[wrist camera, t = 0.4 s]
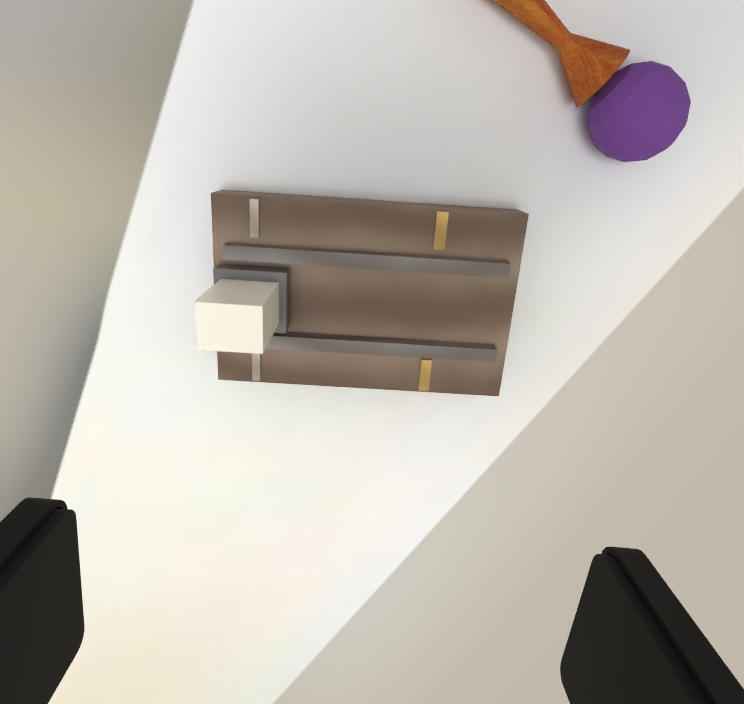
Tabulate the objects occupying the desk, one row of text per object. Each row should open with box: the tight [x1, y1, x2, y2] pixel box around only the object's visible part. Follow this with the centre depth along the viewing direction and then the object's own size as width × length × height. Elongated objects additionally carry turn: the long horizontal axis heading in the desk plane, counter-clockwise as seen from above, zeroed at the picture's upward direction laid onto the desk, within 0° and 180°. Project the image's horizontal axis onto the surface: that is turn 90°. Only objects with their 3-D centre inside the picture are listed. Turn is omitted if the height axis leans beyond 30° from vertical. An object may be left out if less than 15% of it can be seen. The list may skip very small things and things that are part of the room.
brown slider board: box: [211, 190, 529, 396], centre depth 40 cm, size 14×22×4 cm, turn 86°
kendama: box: [493, 0, 691, 162], centre depth 34 cm, size 6×6×20 cm
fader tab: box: [194, 264, 290, 354], centre depth 35 cm, size 4×5×8 cm
